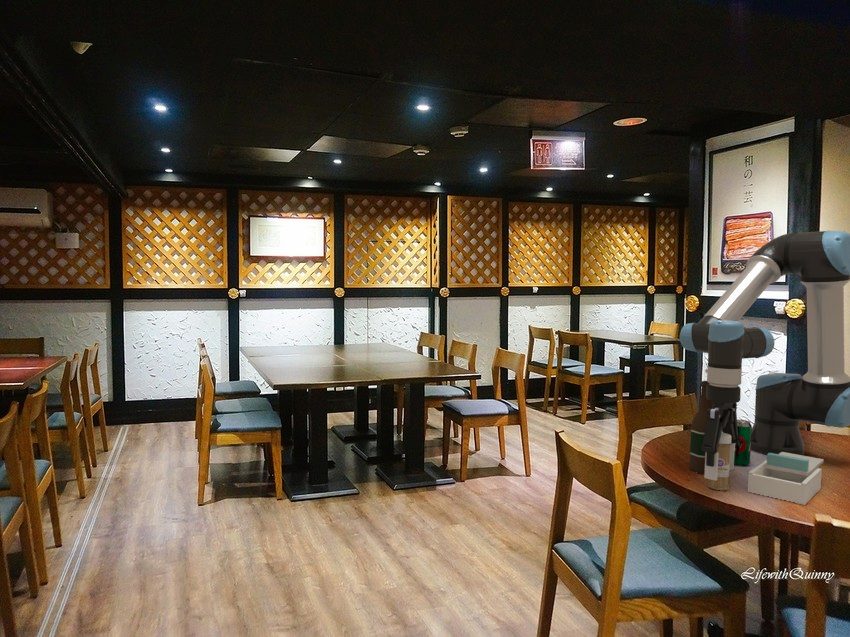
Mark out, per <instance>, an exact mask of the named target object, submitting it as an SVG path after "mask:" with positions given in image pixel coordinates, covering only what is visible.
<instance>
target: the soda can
mask: <svg viewBox="0 0 850 637" xmlns="http://www.w3.org/2000/svg"><path fill="white" fill-rule="evenodd" d="M737 426H738V439H739V443H738V444H737V443H734V444H735V452H734V464H735V465H734V466H738V465H742V466H741V467H746V466H749V465H750V464H751V454H752V453H751V452H752V450H751V434H752V427H753V424H751V421H750V420H746V419H738V418H737Z"/></svg>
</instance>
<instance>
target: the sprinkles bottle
mask: <svg viewBox="0 0 850 637" xmlns="http://www.w3.org/2000/svg"><path fill="white" fill-rule="evenodd" d="M730 445H731V435H729V434H726V433H723V432H722V433H721V437H720V441H719V445H718V449H717V453H719V454H718V475H717V480H716V481H715V480H711V479H708V480H709V481H708V482H709V483H708V488H710V489H712V490H716V491H719V490H720V491H721V492H722V491H723V492H724V491H728V490H729V488H730V487H729V481H730V480H729V479H730V469H729V468H730Z"/></svg>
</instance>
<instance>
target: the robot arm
mask: <svg viewBox="0 0 850 637" xmlns="http://www.w3.org/2000/svg"><path fill="white" fill-rule="evenodd" d="M785 275H786V276H787V275H799V283H800V284H802V285H803V286H805V288H806V322H807V323H806V325H807V326H806V328H807V330H806V331H807V332H806V334H807V372H806V373H805V374H803V375H802V374H800V373H788V374H769V373H767V374H761V375H760V376H758V377H757V378H756V386H755V400H754V402H755V403H754V404H755V405H754V406H755V407H754V408H755V409H754V423H753V424H752V434H751V451H754V452H756V453H758V454H764V455H767V454H768V453H774V454H780V453H781V452H786V453H791V454H797V455H803V456H805V455H804V454H805V444H804V440H803V437H802V434H801V429H800V421H802V422H808V423H812V424H817V425H822V426H825V427H828V428H829V427H830V428H831V427H833V428H840V429H844V428H847V427H848V426H850V376H849V375H848V374H846V372H845V313H844V312H845V302H844V299H845V298H844V294H845V293H844V290H845V289H844V287H845V286H846V285H847V284H848V283H849V282H850V233H849V232H847V231H843V230H822V231H821V230H820V231H810V232H809V231H807V232H805V231H804V232H790V233H784V234H782V235H780V236H777V237H775V238H773V239H771V240H770V241H768V242H766V243H765V244H764V245H762V246H761V247H759V248H758V249H757V250H756V251H755V252H753V254H752V255H751V256H750V257H749V258H748V259H747V261H746V263H745V268H744V269H743V271H742V272H741V273H740V274H739V275H738V277H737V278H736V279H735V280H734V282H732V284H731V285H730V286H729V287H728V288H727V289H726V290H725V291H724V293H723V294H722V295H721V296H720V297H719V298H718V300H717V301H716V302H715V303H714V304H713V305H712V306H711V308H710V309H709V310H708V311H707V312H706V313H705V315H704V316H703V317H702V318H701V319H700V320H699V321H698V322H697V323H696V322H691V323H686V324H684V325H683V326H682V328H681V330H680V333H679V342H680V343H681V344H680V345H681V346H682V347H683V349H684V350H687V351H691V352H694V353H695V352H696V353H704V354H707V368H706V369H705V370H704V371H705V373H706V381H707V382H709V384H707V386H706V398H707V399H708V400H710V401H713V403H714V404H713V408H712V409H708V410H707V421H706V427H705V433H704V439H703V445H702V448H701V450H702V451H705V474H703V477H704V479H708V480H709V479H711V480H715V481H716V480H717V475H718V454H719V453H717V449H718V445H719V441H720V437H721V433H726V434H729V435H731V445H730V468H729V471H730V470H731V471H733V470H735V468H734V467H735V465H734V452H735V444H734V443H737V444H738V443H739V439H738V426H737V419H738V417H737V416H738V414H737V407H738V405H737V404H738V403H740V401H741V392H742V391H741V386H740V385H741V384H742V375H743V374H742V371H743V370H742V369H743V367H742V366H743V360H744V359H759V358H763V357H767V356H768V355H770V354H771V353H772V352H773V350H774V348H775V338H774V335H773V334H772V332H770V331H769V330H768V329H767V328H764V327H756V326H753V327H744V326H745V325H744V323H743V322H741V321H740V320H741V319H742V318H743V316H744V315H745V314H746V313H747V311H748V310H749V309H750V308H751V307H752V305H753V304H754V303H755V302H756V301H757V299H758V298H759V297H760V296H761V295H762V294H763V292H764V291H766V289H767V287H769V285H771V284H773V283H776V282H778V280H780V278H781V277H782V276H783V277H784V276H785Z"/></svg>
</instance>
